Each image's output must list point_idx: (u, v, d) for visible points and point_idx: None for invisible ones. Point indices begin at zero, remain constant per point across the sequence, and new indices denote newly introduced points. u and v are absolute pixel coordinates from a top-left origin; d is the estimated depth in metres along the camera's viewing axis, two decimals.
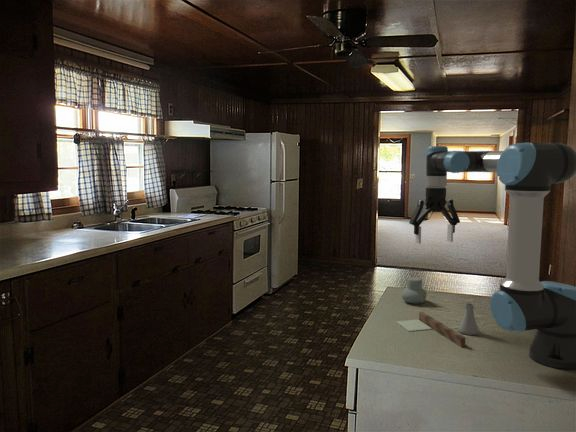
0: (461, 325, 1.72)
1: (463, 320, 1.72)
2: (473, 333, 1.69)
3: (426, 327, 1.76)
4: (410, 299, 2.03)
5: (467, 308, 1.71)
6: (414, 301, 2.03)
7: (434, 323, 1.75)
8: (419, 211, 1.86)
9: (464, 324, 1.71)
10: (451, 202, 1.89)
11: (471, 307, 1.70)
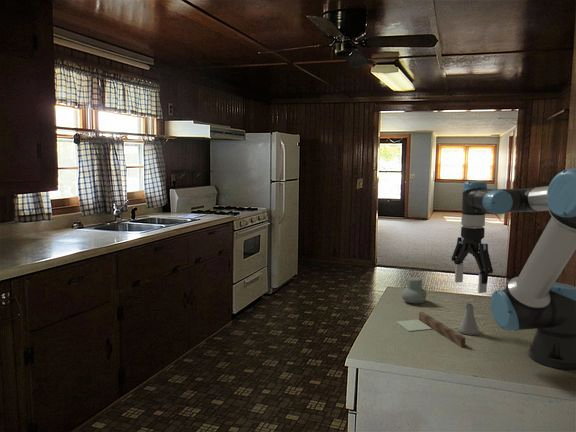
0: (461, 325, 1.72)
1: (463, 320, 1.72)
2: (473, 333, 1.69)
3: (426, 327, 1.76)
4: (410, 299, 2.03)
5: (467, 308, 1.71)
6: (414, 301, 2.03)
7: (434, 323, 1.75)
8: (456, 248, 1.76)
9: (464, 324, 1.71)
10: (480, 247, 1.63)
11: (471, 307, 1.70)
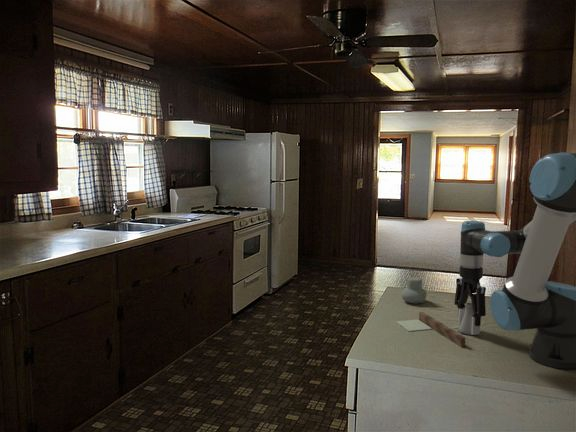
0: (461, 325, 1.72)
1: (463, 320, 1.72)
2: None
3: (426, 327, 1.76)
4: (410, 299, 2.03)
5: (467, 308, 1.71)
6: (414, 301, 2.03)
7: (434, 323, 1.75)
8: (456, 290, 1.77)
9: (464, 324, 1.71)
10: (477, 290, 1.65)
11: (471, 307, 1.70)
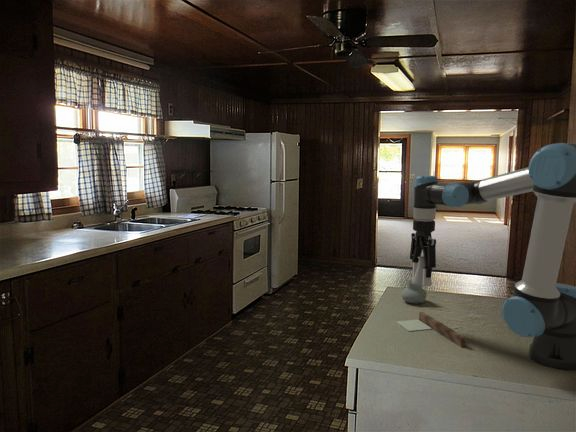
0: (414, 277, 1.76)
1: (416, 272, 1.76)
2: None
3: (426, 327, 1.76)
4: (410, 299, 2.03)
5: (420, 261, 1.75)
6: (414, 301, 2.03)
7: (434, 323, 1.75)
8: (411, 244, 1.81)
9: (417, 276, 1.75)
10: (428, 242, 1.69)
11: None
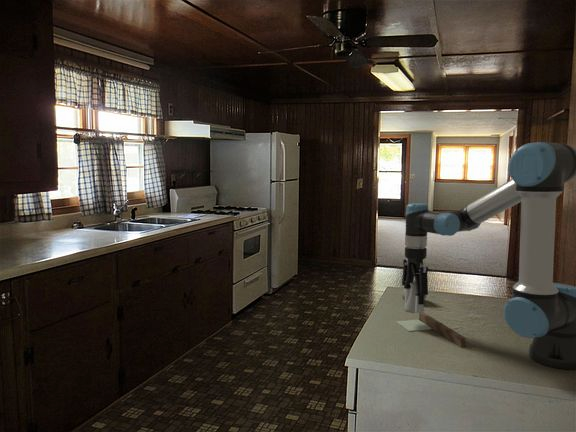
0: (406, 304, 1.78)
1: (408, 299, 1.78)
2: None
3: (426, 327, 1.76)
4: None
5: (412, 287, 1.77)
6: None
7: (434, 323, 1.75)
8: (403, 271, 1.82)
9: (409, 303, 1.77)
10: (420, 269, 1.71)
11: None
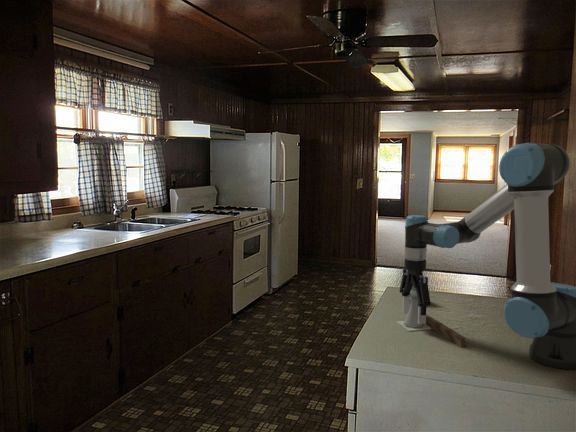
0: (406, 318, 1.78)
1: (408, 313, 1.78)
2: (417, 326, 1.76)
3: (426, 327, 1.76)
4: None
5: (412, 302, 1.77)
6: None
7: (434, 323, 1.75)
8: (402, 280, 1.84)
9: (409, 317, 1.77)
10: (420, 280, 1.71)
11: (416, 301, 1.77)
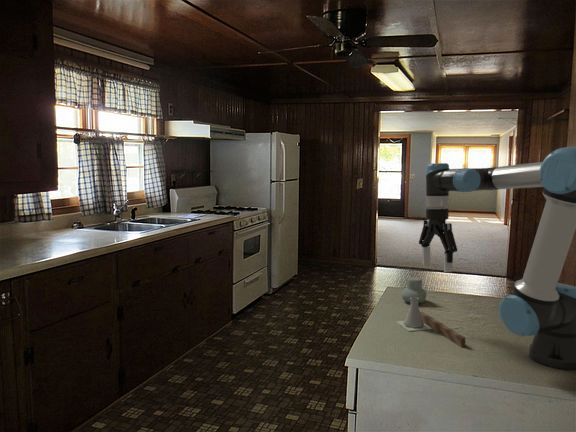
0: (406, 318, 1.78)
1: (408, 313, 1.78)
2: (417, 326, 1.76)
3: (426, 327, 1.76)
4: None
5: (412, 302, 1.77)
6: None
7: (434, 323, 1.75)
8: (422, 231, 1.79)
9: (409, 317, 1.77)
10: (444, 226, 1.66)
11: (416, 301, 1.77)
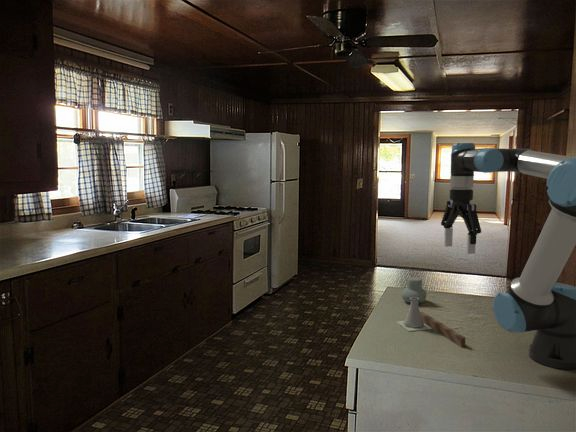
0: (406, 318, 1.78)
1: (408, 313, 1.78)
2: (417, 326, 1.76)
3: (426, 327, 1.76)
4: None
5: (412, 302, 1.77)
6: None
7: (434, 323, 1.75)
8: (445, 212, 1.77)
9: (409, 317, 1.77)
10: (468, 207, 1.63)
11: (416, 301, 1.77)
